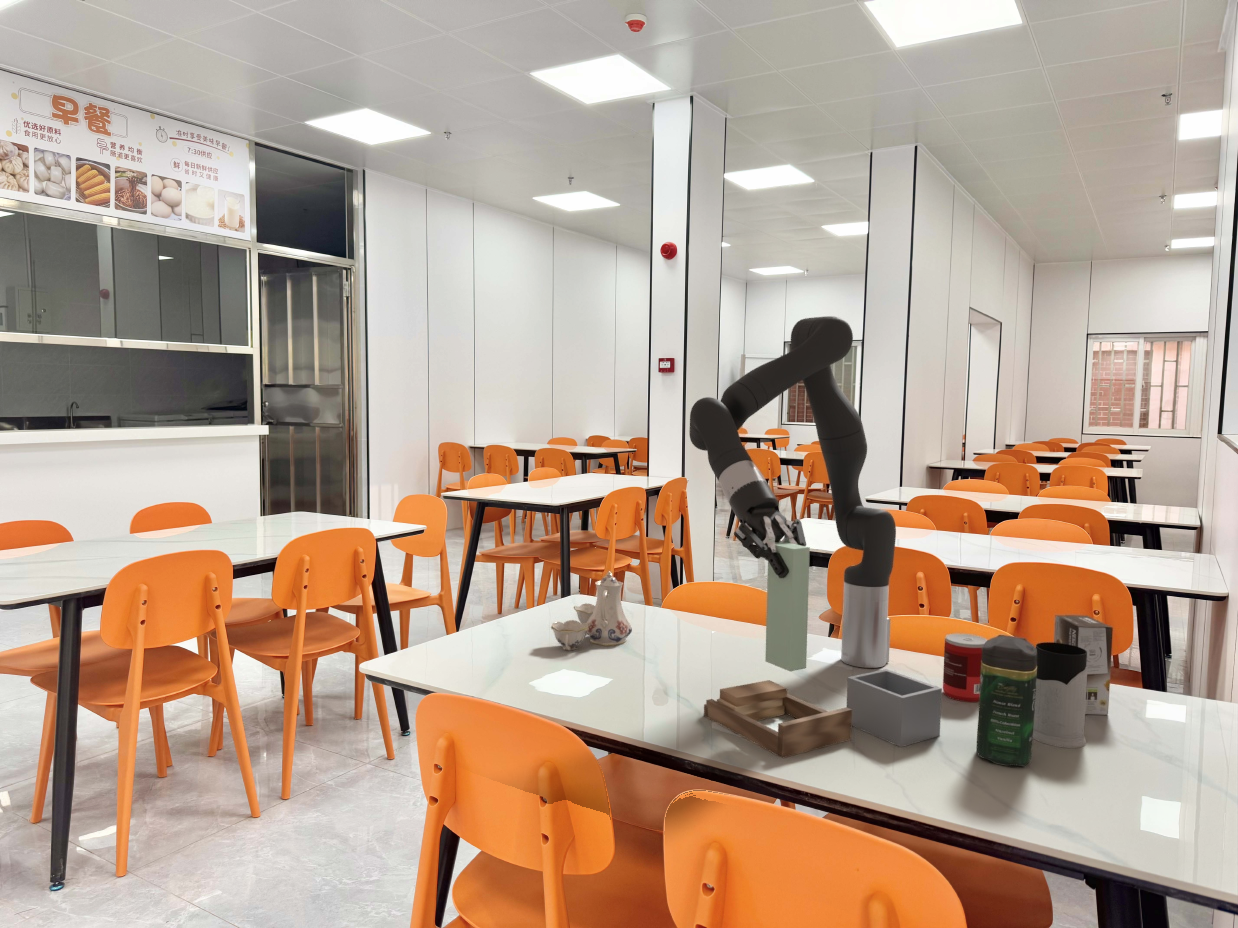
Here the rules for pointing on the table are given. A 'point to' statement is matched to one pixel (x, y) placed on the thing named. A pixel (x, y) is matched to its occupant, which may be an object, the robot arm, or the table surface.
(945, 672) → the canned food
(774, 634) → the tall mint green block
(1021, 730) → the coffee jar
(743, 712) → the offcut stack
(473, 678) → the table surface
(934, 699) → the grey holder
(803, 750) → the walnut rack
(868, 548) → the robot arm
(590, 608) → the chinaware
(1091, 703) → the coffee box
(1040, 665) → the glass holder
